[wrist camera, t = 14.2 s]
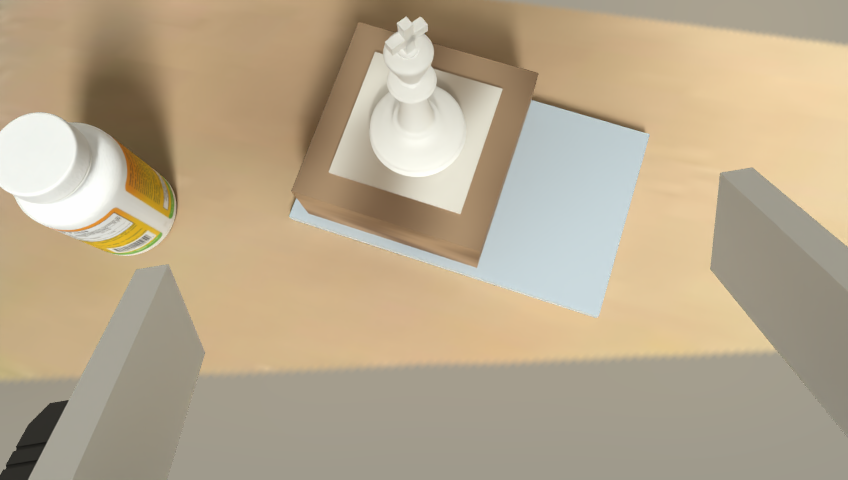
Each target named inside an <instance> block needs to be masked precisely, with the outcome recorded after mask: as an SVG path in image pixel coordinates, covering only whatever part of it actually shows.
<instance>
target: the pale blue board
mask: <svg viewBox="0 0 848 480" xmlns="http://www.w3.org/2000/svg"><path fill="white" fill-rule="evenodd" d="M649 135H650V134H647V133H643V132H640V131H637V130H633V129H630V128H626V127H623V126H619V125H616V124H613V123H609V122H606V121H602V120H599V119H595V118H592V117H588V116H585V115H582V114H578V113H575V112H571V111H568V110H564V109H561V108H557V107H554V106H551V105H547V104H544V103H540V102H537V101H533V100H531V103H530V106H529V110H528V113H527V116H526V119H525V122H524V125H523V128H522V131H521V134H520V137H519V140H518V143H517V146H516V150H515V153H514V156H513V159H512V162H511V165H510V168H509V171H508V174H507V177H506V180H505V183H504V186H503V189H502V193H501V196H500V199H499V202H498V205H497V208H496V211H495V214H494V217H493V220H492V223H491V226H490V229H489V232H488V236H487V239H486V242H485V245H484V248H483V251H482V254H481V257H480V260H479V263H478V266H477V268H476V267H472V266H469V265H466V264H463V263H460V262H457V261H454V260H451V259H448V258H445V257H441V256H438V255H435V254H432V253H429V252H426V251H423V250H420V249H417V248H414V247H410V246H407V245H404V244H401V243H398V242H395V241H392V240H389V239H386V238H383V237H379V236H376V235H373V234H370V233H367V232H364V231H361V230H358V229H355V228H352V227H348V226H345V225H342V224H339V223H336V222H333V221H330V220H327V219H324V218H321V217H317V216H314V215H311V214H308V212H307V211H306V210H305V208H304V207H303V206H302V205H301V203H300V202H299V201H298V199H297V198H296V200H295V203H294V205H293V208H292V210H291V213H290V215H289V217H290V218H291V219H292V220H295V221H299V222H302V223H305V224H308V225H311V226H314V227H317V228H320V229H323V230H326V231H329V232H332V233H336V234H339V235H342V236H345V237H348V238H351V239H354V240H357V241H360V242H363V243H366V244H369V245H373V246H376V247H379V248H382V249H385V250H388V251H391V252H394V253H397V254H400V255H403V256H406V257H410V258H413V259H416V260H419V261H422V262H425V263H428V264H431V265H434V266H437V267H440V268H443V269H447V270H450V271H453V272H456V273H459V274H462V275H465V276H468V277H471V278H474V279H477V280H480V281H484V282H487V283H490V284H493V285H496V286H499V287H502V288H505V289H508V290H511V291H514V292H517V293H521V294H524V295H527V296H530V297H533V298H536V299H539V300H542V301H545V302H548V303H551V304H554V305H557V306H561V307H564V308H567V309H570V310H573V311H576V312H579V313H582V314H585V315H588V316H591V317H594V318H597V317H599V313H600V310H601V306H602V303H603V299H604V295H605V292H606V288H607V285H608V281H609V278H610V274H611V270H612V267H613V263H614V260H615V256H616V253H617V249H618V246H619V242H620V238H621V235H622V231H623V228H624V224H625V221H626V217H627V213H628V210H629V206H630V203H631V199H632V196H633V192H634V188H635V185H636V181H637V178H638V174H639V171H640V167H641V163H642V160H643V156H644V153H645V149H646V146H647V142H648V139H649Z"/></svg>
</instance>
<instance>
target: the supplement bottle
mask: <svg viewBox="0 0 848 480" xmlns="http://www.w3.org/2000/svg"><path fill="white" fill-rule="evenodd" d="M0 187H2V188H3V189H4V190H6V191H7V192H9V193H11V194H13V195H14V197H15V199H16V201H17V203H18V205H19V206H20V208H21V209H22V210H23V211H24V212H25V213H26V214H27V215H28V216H29V217H30V218H32V219H33V220H35V221H37V222H38V223H40V224H42V225H44V226H46V227H49V228H51V229H53V230H56V231H59V232H61V233H63V234H66V235H68V236H70V237H73V238H75V239H78V240H80V241H82V242H85V243H87V244H89V245H92V246H94V247H96V248H99V249H101V250H104V251H106V252H109V253H112V254H115V255H122V256H130V255H137V254H141V253H144V252H146V251H148V250H150V249H152V248H153V247H155V246H157V245H158V244H159V243H160V242H161V241H162V240H163V239H164V238H165V237H166V236H167V234H168V233H169V231H170V229H171V228H172V225H173V223H174V220H175V216H176V198H175V194H174V191H173V189H172V187H171V186H170V184H169V183H168V181H167V180H166V179H165V178H164V177H163V176H162V175H161V174H159V173H158V172H157V171H156V170H154V169H153V168H152V167H150V166H149V165H148V164H146V163H145V162H144V161H143V160H141V159H140V158H139V157H137V156H136V155H135V154H134V153H132V152H131V151H130V150H128V149H127V148H126V147H125V146H123V145H122V144H121V143H119V142H118V141H117V140H115V139H114V138H113V137H111V136H110V135H109V134H107V133H106V132H104V131H102V130H101V129H99V128H97V127H95V126H92V125H88V124H84V123H68V122H67V121H65V120H64V119H62V118H60V117H58V116H56V115H53V114H49V113H43V112H36V113H29V114H25V115H23V116H20V117H18V118H16V119H14V120H13V121H11V122H10V123H9V124H7V125H6V126H5V127H4V128H3V129H2V130H1V131H0Z"/></svg>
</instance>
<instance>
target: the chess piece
mask: <svg viewBox="0 0 848 480" xmlns="http://www.w3.org/2000/svg"><path fill="white" fill-rule="evenodd" d="M397 28H398V32H396V33H394V34H393V35H392V36H390V37H389V39H388V40H386V41H385V45H384V49H383V58H384V61H385V63H386V65H387V67H388V68H389V69H390V71H389V73H388V76H387V86H388V89H389V92H388V93H387V94H386V95H385V96H383V97H382V98H381V100H380V101H379V102H378V103H377V105H376V107H375V108H374V111H373V113H372V116H371V120H370V129H369V136H370V142H371V146H372V148H373V151H374V153H375V154H376V156H377V157H378V159H379V160H380V161H381V162H382V163H383V164H384V165H385V166H386V167H387V168H389V169H390V170H392V171H394V172H396V173H398V174H401V175H405V176H410V177H424V176H429V175H433V174H436V173H438V172H440V171H442V170H444V169H445V168H447V167H448V166H449V165H451V164H452V163H453V162H454V161H455V159H456V158H457V157H458V156H459V154H460V152H461V150H462V148H463V146H464V143H465V139H466V123H465V119H464V116H463V113H462V110H461V108H460V106H459V104H458V103H457V101H456V100H455V99H454V98H453V97H452V96H451V95H450V94H449V93H448V92H446V91H445V90H443V89H441V88H439V87H437V86H436V83H437V78H436V73H435V71H434V69H433V68H432V66H431V63H432V61H433V57H434V48H433V45H432V42H431V40H430V39H429V38H428V37H427V36H426V35H425V34H424V33H425V32H427V31H428V24H427V23H426V22H425V21H424V20H423V18H422V17H421V16H420V17H419V18H418V19H416V20H415V21H413V22H411V21H410V20H409V19H408V18H407V17H405V18H403V19H402V20H400V21H399V22H398V23H397Z"/></svg>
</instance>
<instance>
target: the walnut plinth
mask: <svg viewBox="0 0 848 480" xmlns="http://www.w3.org/2000/svg"><path fill="white" fill-rule="evenodd" d="M394 33H396V32H392V31H389V30H385V29H382V28H378V27H375V26H371V25H368V24H364V23H361V22H358V25H357V27H356V30H355V32H354V35H353V37H352V40H351V42H350V45H349V47H348V50H347V52H346V55H345V57H344V60H343V62H342V65H341V68H340V70H339V73H338V75H337V78H336V80H335V83H334V85H333V88H332V90H331V93H330V95H329V98H328V100H327V103H326V105H325V108H324V110H323V113H322V115H321V118H320V120H319V123H318V125H317V128H316V130H315V133H314V135H313V138H312V140H311V143H310V145H309V148H308V150H307V153H306V155H305V158H304V161H303V163H302V166H301V168H300V171H299V173H298V176H297V178H296V181H295V183H294V186H293V188H292V193H293V194H294V195H295V197H296V198H297V199H298V201H299V202H300V203H301V205H302V206H303V207H304V208H305V210H306V211H307V212H308V214H311V215H314V216H317V217H321V218H324V219H327V220H330V221H333V222H336V223H339V224H342V225H345V226H348V227H352V228H355V229H358V230H361V231H364V232H367V233H370V234H373V235H376V236H379V237H383V238H386V239H389V240H392V241H395V242H398V243H401V244H404V245H407V246H410V247H414V248H417V249H420V250H423V251H426V252H429V253H432V254H435V255H438V256H441V257H445V258H448V259H451V260H454V261H457V262H460V263H463V264H466V265H469V266H472V267H476V268H477V266H478V263H479V260H480V257H481V254H482V251H483V248H484V245H485V242H486V239H487V236H488V232H489V229H490V226H491V223H492V220H493V217H494V214H495V211H496V208H497V205H498V202H499V199H500V196H501V193H502V189H503V186H504V183H505V180H506V177H507V174H508V171H509V168H510V165H511V162H512V159H513V156H514V153H515V150H516V146H517V143H518V140H519V137H520V134H521V131H522V128H523V125H524V122H525V119H526V116H527V113H528V110H529V106H530V103H531V99H532V95H533V92H534V88H535V84H536V80H537V77H538V73H536V72H532V71H529V70H525V69H522V68H518V67H515V66H511V65H508V64H504V63H501V62H497V61H494V60H490V59H487V58H483V57H480V56H476V55H473V54H469V53H466V52H462V51H459V50H455V49H452V48H448V47H445V46H441V45H438V44H434V43H432V45H433V48H434V57H433V61H432V63H431V66H432V68H433V69H434V71H435V73H436V78H437V83H436V86H437V87H439V88H441V89H443V90H445V91H446V92H448V93H449V94H450V95H451V96H452V97H453V98H454V99H455V100H456V101H457V103H458V104H459V106H460V108H461V110H462V113H463V116H464V119H465V123H466V139H465V143H464V146H463V148H462V150H461V152H460V154H459V156H458V157H457V158H456V159H455V161H454V162H453V163H452V164H451V165H449V166H448V167H447V168H445V169H444V170H442V171H440V172H438V173H436V174H433V175H429V176H424V177H410V176H405V175H401V174H398V173H396V172H394V171H392V170H390V169H389V168H387V167H386V166H385V165H384V164H383V163H382V162H381V161H380V160H379V159H378V157H377V156H376V154H375V153H374V151H373V148H372V146H371V142H370V136H369V129H370V120H371V116H372V113H373V111H374V108H375V107H376V105H377V103H378V102H379V101H380V100H381V98H382V97H383V96H385V95H386V94H387V93H388V92H389V89H388V86H387V76H388V73H389V71H390V69H389V68H388V67H387V65H386V63H385V61H384V58H383V49H384V45H385V41H386V40H388V39H389V37H390V36H392V35H393V34H394Z"/></svg>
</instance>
